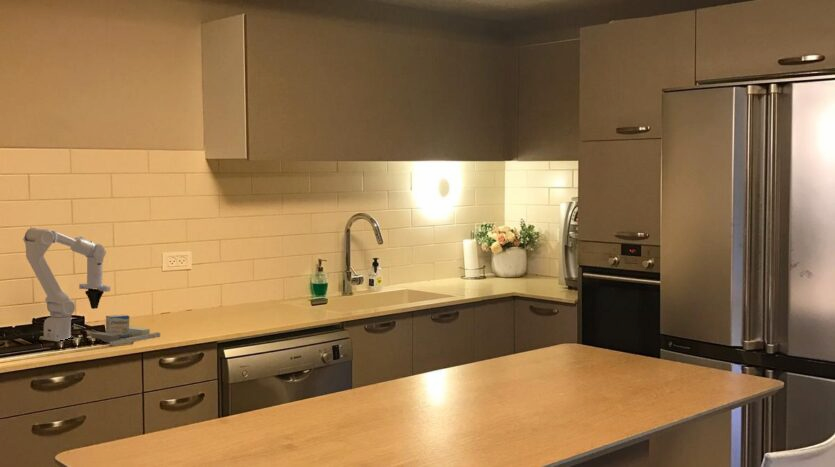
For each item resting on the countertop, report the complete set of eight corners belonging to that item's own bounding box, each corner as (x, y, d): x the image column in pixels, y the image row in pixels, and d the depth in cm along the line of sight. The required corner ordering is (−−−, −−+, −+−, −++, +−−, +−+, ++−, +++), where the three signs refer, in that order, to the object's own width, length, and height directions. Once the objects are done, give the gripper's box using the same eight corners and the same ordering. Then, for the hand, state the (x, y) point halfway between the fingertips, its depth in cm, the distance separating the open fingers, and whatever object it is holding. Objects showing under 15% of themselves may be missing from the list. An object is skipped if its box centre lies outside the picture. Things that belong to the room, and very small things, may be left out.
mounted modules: (111, 343, 343) (111, 335, 343) (91, 341, 347) (91, 333, 347) (149, 336, 362) (149, 328, 362) (129, 333, 366) (130, 326, 366)
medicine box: (109, 339, 353) (109, 316, 353) (105, 337, 357) (105, 315, 356) (129, 337, 358) (129, 315, 357) (125, 335, 361) (125, 314, 361)
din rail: (113, 345, 339) (113, 341, 339) (109, 345, 340) (109, 341, 340) (160, 336, 363) (160, 332, 363) (157, 335, 364) (157, 332, 364)
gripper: (116, 274, 361) (115, 308, 361) (88, 271, 367) (88, 305, 368) (102, 276, 354) (102, 310, 355) (75, 273, 360) (74, 307, 361)
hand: (94, 308), depth 361 cm, fingers closed
